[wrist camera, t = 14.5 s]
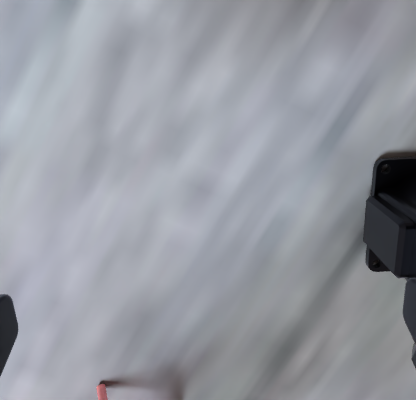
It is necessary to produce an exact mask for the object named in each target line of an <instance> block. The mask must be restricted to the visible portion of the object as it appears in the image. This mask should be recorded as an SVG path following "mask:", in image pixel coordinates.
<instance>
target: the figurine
mask: <svg viewBox="0 0 416 400" xmlns="http://www.w3.org/2000/svg"><path fill="white" fill-rule="evenodd" d="M97 394H98V400H108V399H107V393H106V388H105V384H100V385H98V386H97Z"/></svg>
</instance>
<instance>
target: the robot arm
mask: <svg viewBox="0 0 416 400" xmlns="http://www.w3.org/2000/svg"><path fill="white" fill-rule="evenodd" d="M386 164H387V166H388V168H387V170H386V171H385V172H381V168H382V166H383V165H386ZM363 241H364V242H365V243H366V245H367V250H366V265H367V266H368V267H369V269H370V270H372V271H374V272H383V271H391V272H392V273H393V274H394V275H395V276H396V277H397V278H405V279H406V280H407V283H406V287H405V296H404V304H403V317H404V320H405V323H406V325H407V327H408V329H409V331H410V333H411V335H412V337H413V340H414V342H415V343H414V345H413V351H412V361H413V364H414V366H415V368H416V157H399V158H382V159H379V160H378V161H376V163H375V164H374V167H373V178H372V190H371V196H370V197H369V198H368V199H367V200H366V212H365V224H364V237H363ZM375 260H379V261H378V263H377V264H375V265H373V262H374V261H375ZM17 334H18V323H17V318H16V314H15V309H14V305H13V301H12V299H11V297H10V296H9V295H6V294H1V295H0V376H1V374H2V371H3V369H4V367H5V364H6V362H7V359H8V357H9V355H10V352H11V350H12V347H13V345H14V342H15V340H16V338H17Z"/></svg>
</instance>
